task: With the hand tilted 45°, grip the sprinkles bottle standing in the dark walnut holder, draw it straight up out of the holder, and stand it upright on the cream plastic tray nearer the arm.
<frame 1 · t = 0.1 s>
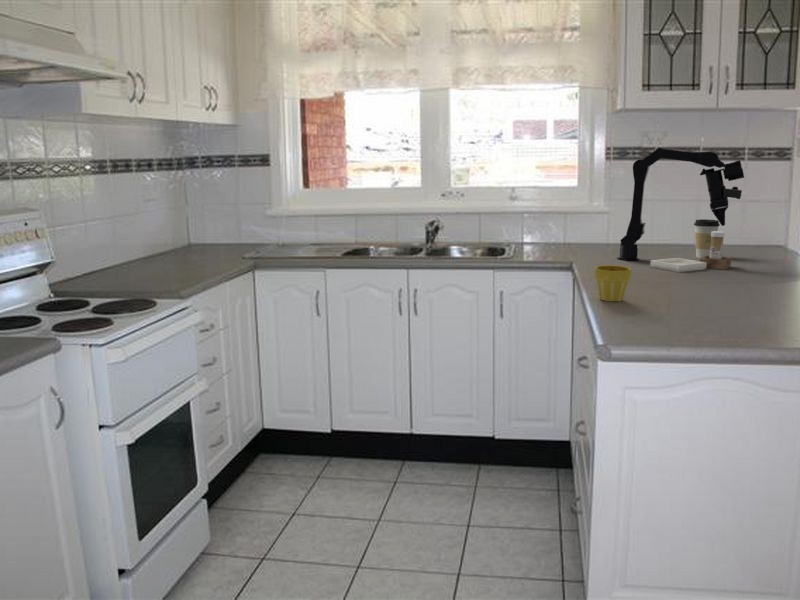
hand: (723, 224, 296), 15 cm above the worktop, tool pointing down, fingers open, 9 cm apart
plant pot: (611, 300, 233), on the worktop
sprinkles bottle: (715, 267, 293), resting in walnut holder
cream tray: (677, 268, 291), on the worktop
coffee cup: (704, 257, 318), on the worktop
walnut holder: (715, 267, 293), on the worktop
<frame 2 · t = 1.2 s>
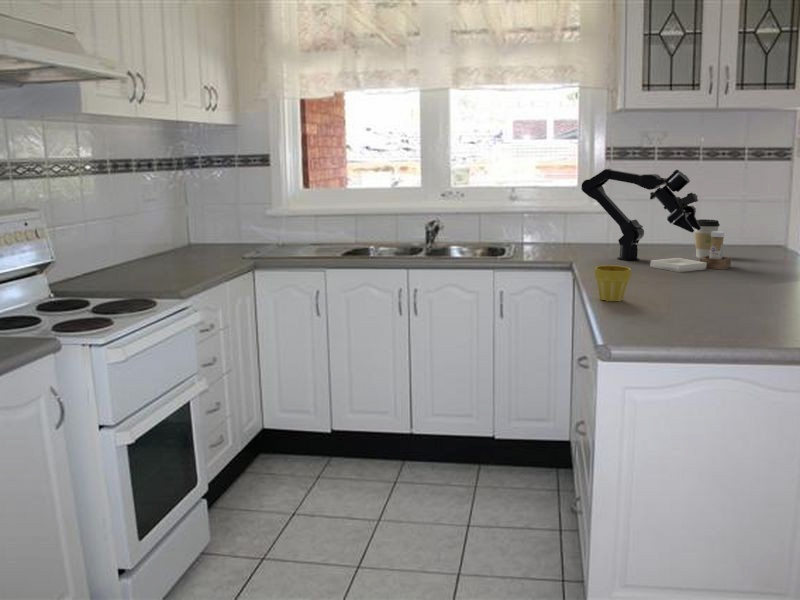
hand: (696, 230, 294), 13 cm above the worktop, tool tilted 45°, fingers open, 9 cm apart
nothing on the worktop moved.
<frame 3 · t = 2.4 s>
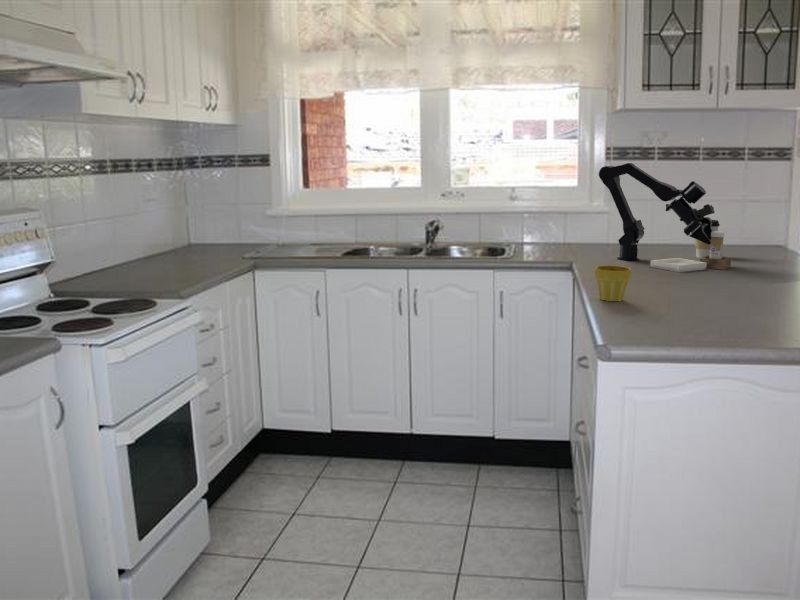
hand: (713, 242, 291), 9 cm above the worktop, tool tilted 45°, fingers open, 9 cm apart
nothing on the worktop moved.
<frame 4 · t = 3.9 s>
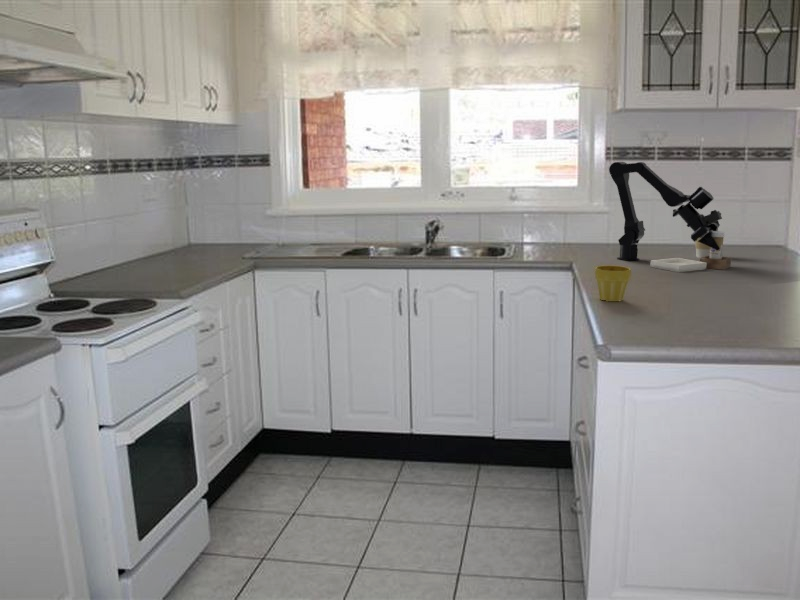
hand: (720, 248, 290), 7 cm above the worktop, tool tilted 45°, fingers closed on sprinkles bottle, 4 cm apart
sprinkles bottle: (715, 267, 293), resting in walnut holder, touching gripper
everything else where it was.
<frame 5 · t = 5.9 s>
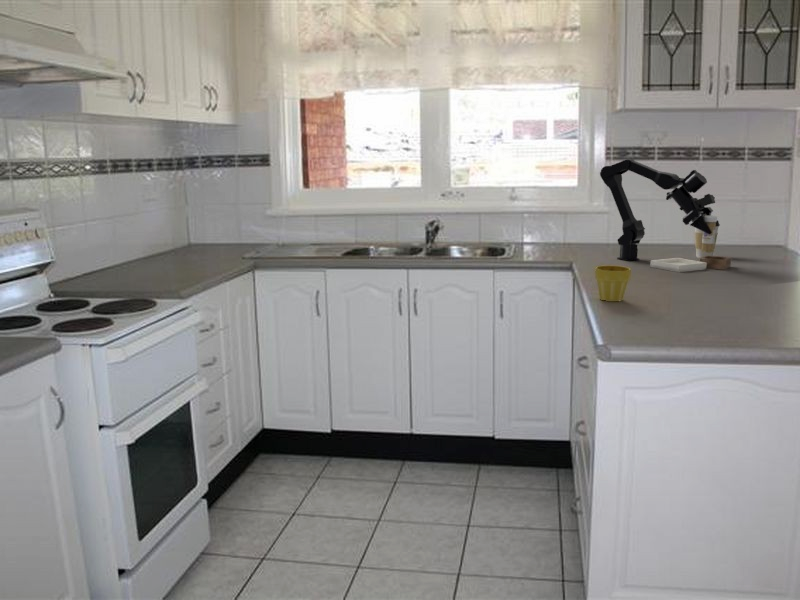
hand: (712, 232, 288), 13 cm above the worktop, tool tilted 45°, fingers closed on sprinkles bottle, 4 cm apart
sprinkles bottle: (707, 252, 291), point 6 cm above the worktop, touching gripper
everything else where it was.
when the fingers open (9 cm above the worktop, at t = 8.0 s): sprinkles bottle drops 1 cm, resting on cream tray.
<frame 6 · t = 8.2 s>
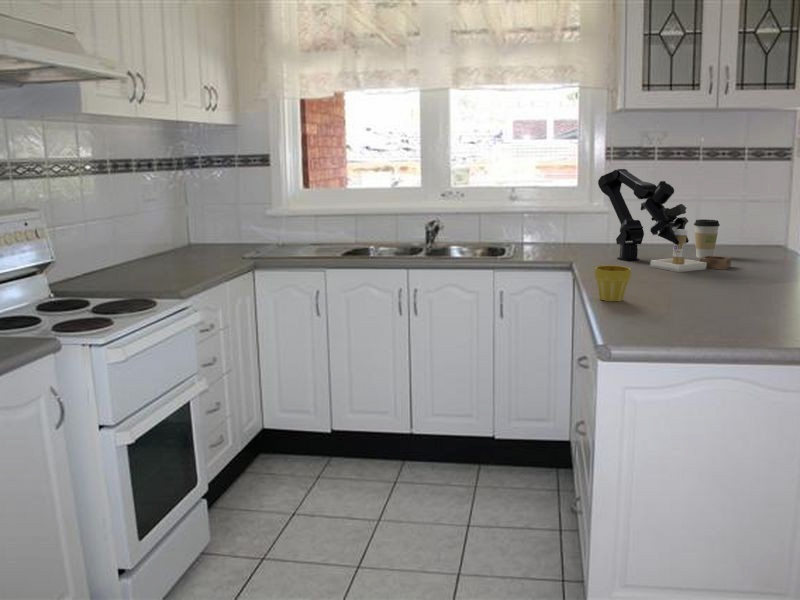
hand: (683, 243, 288), 10 cm above the worktop, tool tilted 45°, fingers open, 7 cm apart
sprinkles bottle: (678, 265, 291), point 1 cm above the worktop, touching cream tray
everything else where it was.
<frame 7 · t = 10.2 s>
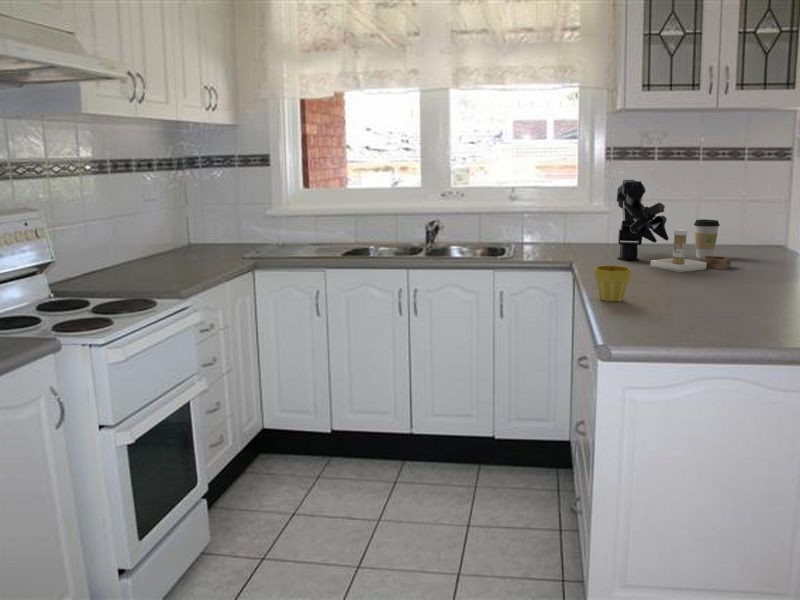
hand: (661, 240, 294), 10 cm above the worktop, tool tilted 45°, fingers open, 9 cm apart
nothing on the worktop moved.
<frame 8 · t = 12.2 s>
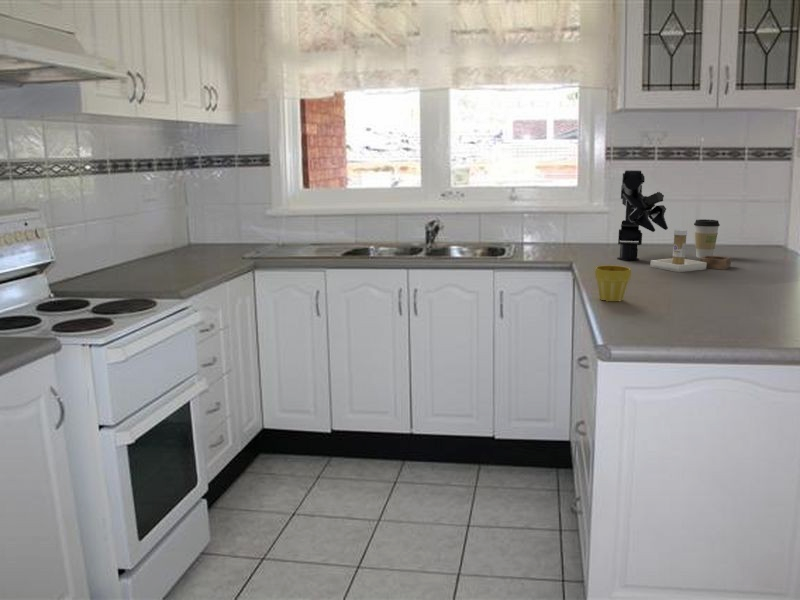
hand: (660, 230, 293), 14 cm above the worktop, tool tilted 45°, fingers open, 9 cm apart
nothing on the worktop moved.
at the end: sprinkles bottle inside the target area on the cream tray (0.4 cm from its centre), point 0.8 cm above the cream tray's base; sprinkles bottle tilted 0°; the gripper is holding nothing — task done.
